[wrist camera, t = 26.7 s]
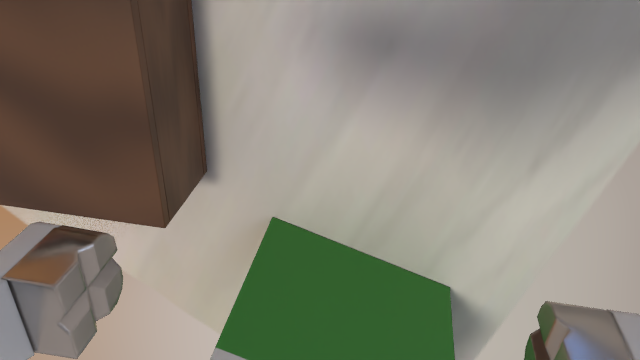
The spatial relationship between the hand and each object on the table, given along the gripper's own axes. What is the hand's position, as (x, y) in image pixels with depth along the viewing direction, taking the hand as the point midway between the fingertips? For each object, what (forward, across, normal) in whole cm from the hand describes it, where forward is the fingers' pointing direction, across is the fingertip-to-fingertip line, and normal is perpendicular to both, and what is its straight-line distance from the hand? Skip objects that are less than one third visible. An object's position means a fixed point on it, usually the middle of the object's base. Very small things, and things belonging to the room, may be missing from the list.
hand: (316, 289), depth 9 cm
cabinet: (+29, +22, +6) cm, 37 cm away
